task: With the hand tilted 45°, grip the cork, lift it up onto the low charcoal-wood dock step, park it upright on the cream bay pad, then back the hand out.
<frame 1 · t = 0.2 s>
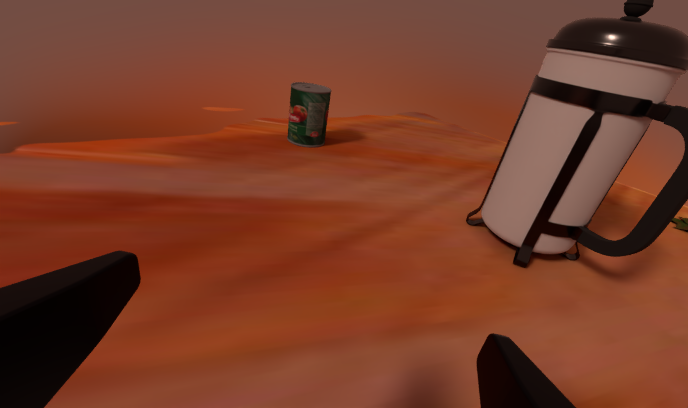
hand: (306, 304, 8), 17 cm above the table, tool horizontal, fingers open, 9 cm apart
coffee press: (525, 245, 45), on the table
canned tomato: (305, 141, 69), on the table
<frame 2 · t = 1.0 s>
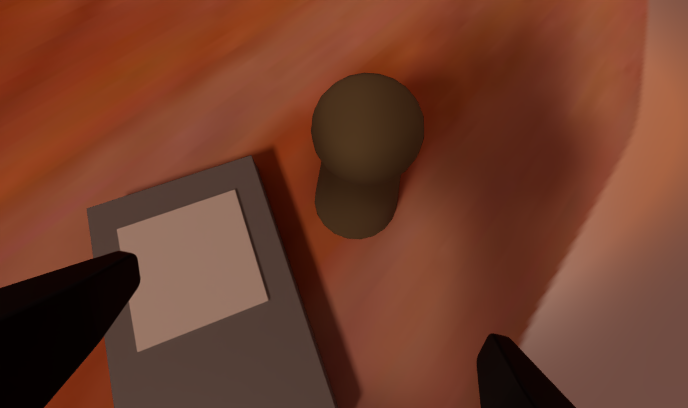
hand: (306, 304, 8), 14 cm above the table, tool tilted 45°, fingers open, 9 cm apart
cork: (355, 200, 24), on the table
dock step: (214, 312, 21), on the table
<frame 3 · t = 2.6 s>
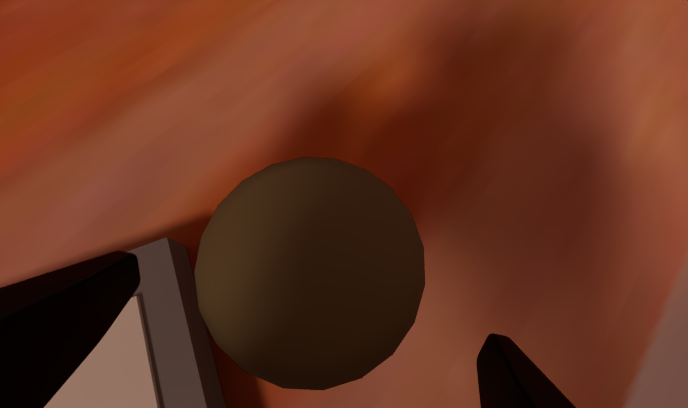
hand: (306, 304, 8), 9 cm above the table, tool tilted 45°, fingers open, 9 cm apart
cork: (325, 293, 17), on the table
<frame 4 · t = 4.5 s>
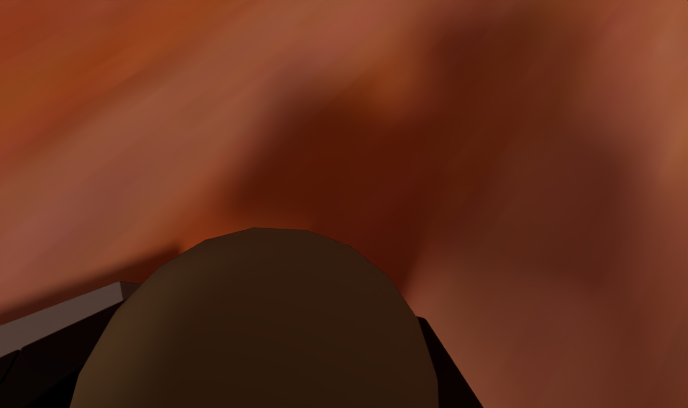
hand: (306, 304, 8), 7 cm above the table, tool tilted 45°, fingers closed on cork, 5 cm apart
cork: (312, 341, 14), on the table, touching gripper
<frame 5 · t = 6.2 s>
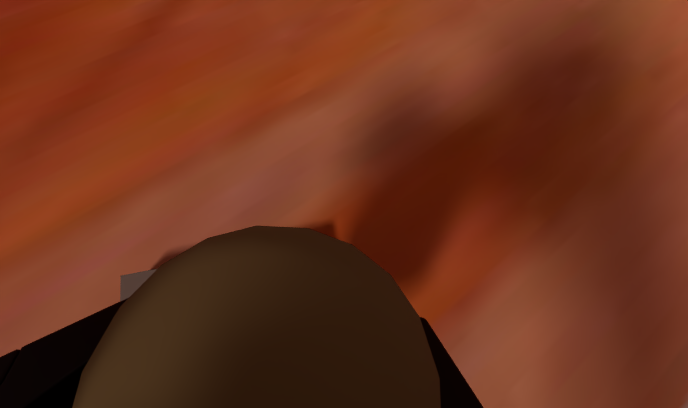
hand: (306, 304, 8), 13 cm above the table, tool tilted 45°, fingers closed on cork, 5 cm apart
cork: (313, 340, 14), point 6 cm above the table, touching gripper
when the fingers open (10 cm above the table, at t = 8.2 s): cork stays where it is, resting on dock step.
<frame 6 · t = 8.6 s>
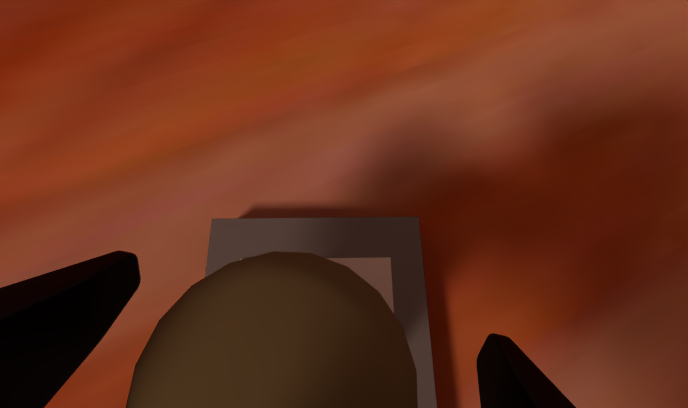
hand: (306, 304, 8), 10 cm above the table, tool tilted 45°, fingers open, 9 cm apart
cork: (313, 344, 15), point 2 cm above the table, touching dock step
dock step: (316, 401, 16), on the table
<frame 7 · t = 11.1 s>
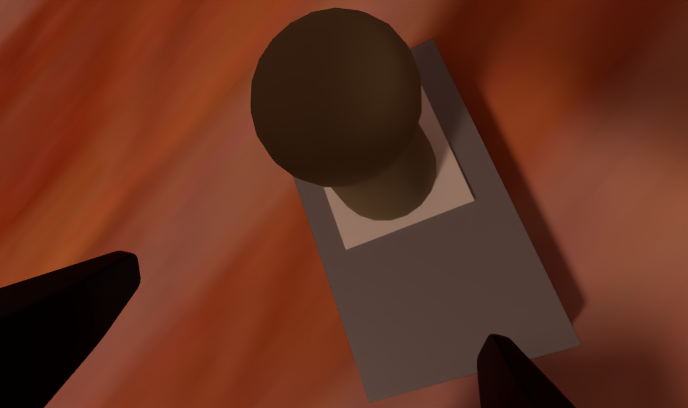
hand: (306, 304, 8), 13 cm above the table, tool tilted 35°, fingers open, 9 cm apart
cork: (383, 170, 19), point 2 cm above the table, touching dock step
dock step: (405, 216, 20), on the table
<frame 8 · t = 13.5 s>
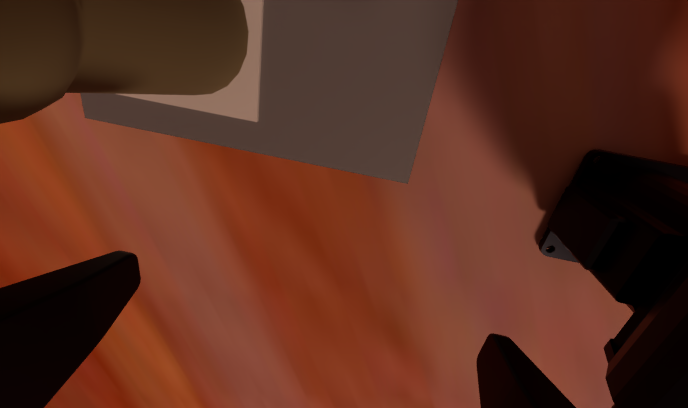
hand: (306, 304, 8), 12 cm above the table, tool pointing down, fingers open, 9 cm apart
cork: (188, 27, 15), point 2 cm above the table, touching dock step
dock step: (260, 37, 17), on the table
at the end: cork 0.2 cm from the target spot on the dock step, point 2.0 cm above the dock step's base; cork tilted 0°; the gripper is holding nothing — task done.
